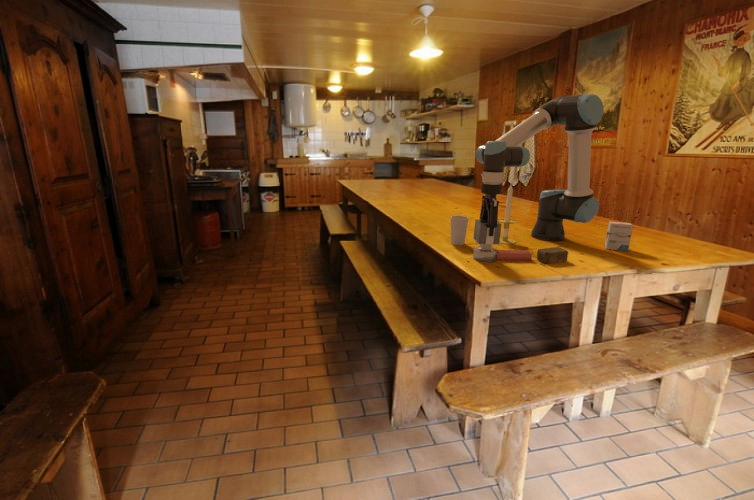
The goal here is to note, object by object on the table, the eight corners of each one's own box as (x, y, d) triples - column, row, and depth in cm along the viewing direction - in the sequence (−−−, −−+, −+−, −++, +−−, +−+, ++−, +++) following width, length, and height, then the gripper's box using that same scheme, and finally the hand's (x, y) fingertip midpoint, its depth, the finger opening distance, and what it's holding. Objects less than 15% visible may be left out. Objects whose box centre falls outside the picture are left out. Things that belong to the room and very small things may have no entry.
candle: (492, 238, 192) (498, 181, 184) (514, 239, 190) (521, 182, 182) (494, 243, 182) (500, 184, 175) (517, 244, 181) (524, 185, 173)
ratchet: (524, 255, 165) (527, 235, 162) (533, 262, 156) (536, 241, 154) (470, 255, 164) (472, 235, 162) (476, 262, 156) (478, 240, 153)
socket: (493, 239, 162) (495, 219, 160) (499, 244, 154) (501, 224, 152) (473, 238, 162) (475, 219, 159) (478, 243, 154) (480, 223, 152)
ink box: (625, 248, 178) (630, 222, 174) (628, 251, 173) (633, 225, 170) (604, 246, 180) (608, 221, 177) (606, 249, 176) (610, 223, 172)
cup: (466, 246, 177) (468, 219, 174) (448, 244, 179) (450, 218, 175) (466, 241, 185) (468, 216, 181) (449, 240, 186) (450, 215, 183)
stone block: (534, 260, 159) (536, 248, 158) (557, 257, 163) (559, 246, 162) (545, 264, 154) (547, 252, 153) (568, 262, 158) (570, 250, 157)
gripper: (475, 179, 161) (470, 234, 168) (490, 186, 141) (484, 248, 148) (493, 180, 162) (488, 234, 168) (511, 186, 142) (504, 248, 148)
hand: (486, 240), depth 158 cm, fingers closed on socket, 8 cm apart
